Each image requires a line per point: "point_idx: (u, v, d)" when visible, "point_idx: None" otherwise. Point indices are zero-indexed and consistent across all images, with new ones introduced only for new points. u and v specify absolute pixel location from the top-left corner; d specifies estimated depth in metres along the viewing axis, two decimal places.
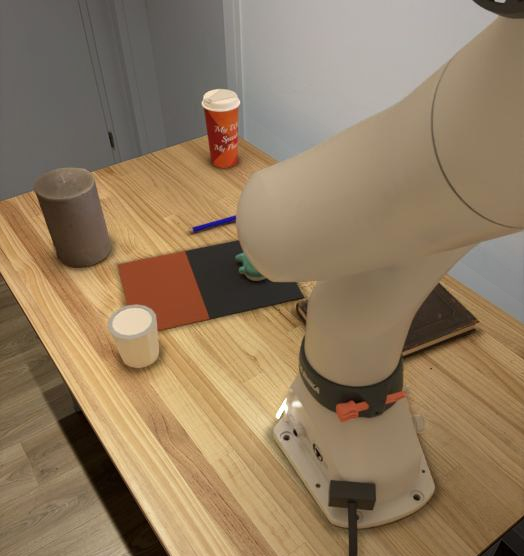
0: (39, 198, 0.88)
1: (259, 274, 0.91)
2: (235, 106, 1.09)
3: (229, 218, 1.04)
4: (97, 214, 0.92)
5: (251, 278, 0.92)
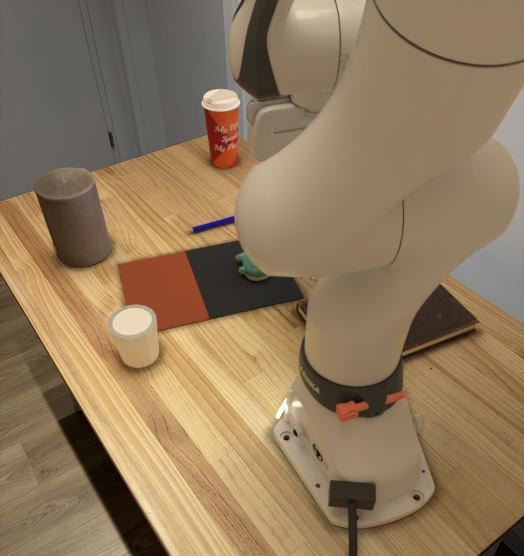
0: (39, 198, 0.88)
1: (259, 274, 0.91)
2: (235, 106, 1.09)
3: (229, 218, 1.04)
4: (97, 214, 0.92)
5: (251, 278, 0.92)
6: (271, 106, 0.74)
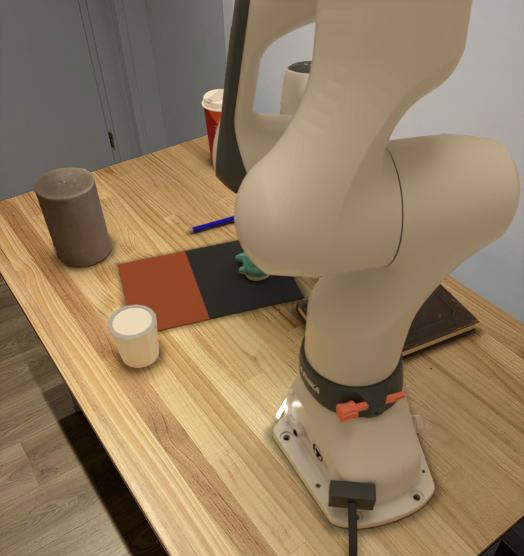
0: (39, 198, 0.88)
1: (259, 274, 0.91)
2: None
3: (229, 218, 1.04)
4: (97, 214, 0.92)
5: (251, 278, 0.92)
6: None
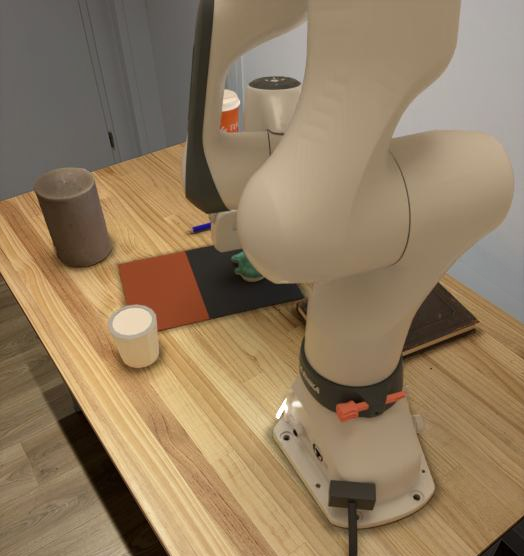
0: (39, 198, 0.88)
1: (255, 275, 0.91)
2: (235, 106, 1.09)
3: None
4: (97, 214, 0.92)
5: (247, 279, 0.92)
6: None
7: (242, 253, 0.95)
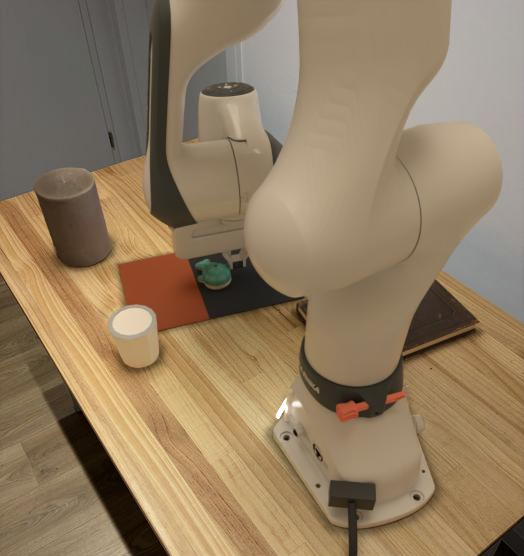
0: (39, 198, 0.88)
1: (217, 283, 0.90)
2: None
3: None
4: (97, 214, 0.92)
5: (210, 287, 0.91)
6: None
7: (206, 260, 0.94)
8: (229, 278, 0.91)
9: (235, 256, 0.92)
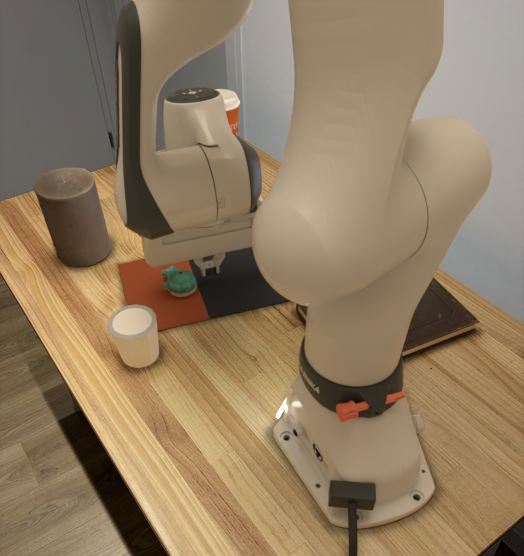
0: (39, 198, 0.88)
1: (182, 290, 0.89)
2: (235, 106, 1.09)
3: None
4: (97, 214, 0.92)
5: (175, 294, 0.90)
6: None
7: (172, 267, 0.93)
8: (194, 285, 0.90)
9: (208, 262, 0.91)
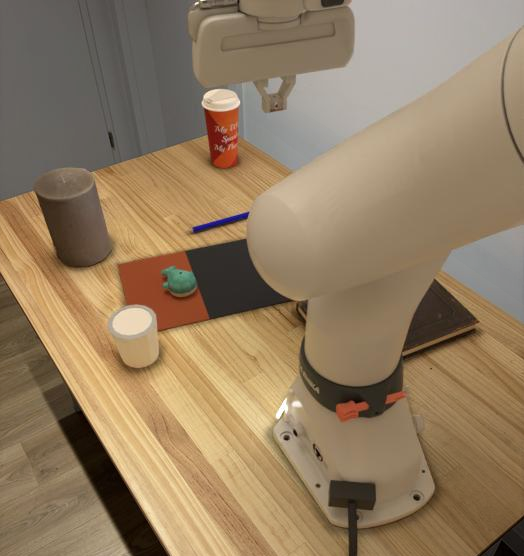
0: (39, 198, 0.88)
1: (182, 290, 0.89)
2: (235, 106, 1.09)
3: (229, 218, 1.04)
4: (97, 214, 0.92)
5: (175, 294, 0.90)
6: (216, 16, 0.62)
7: (172, 267, 0.93)
8: (194, 285, 0.90)
9: (273, 95, 0.72)
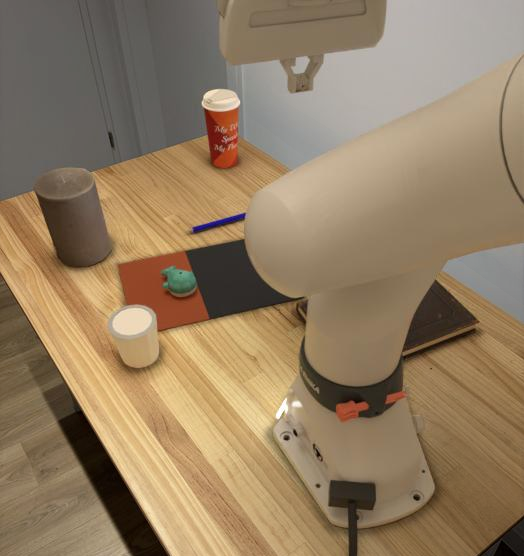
0: (39, 198, 0.88)
1: (182, 290, 0.89)
2: (235, 106, 1.09)
3: (229, 218, 1.04)
4: (97, 214, 0.92)
5: (175, 294, 0.90)
6: None
7: (172, 267, 0.93)
8: (194, 285, 0.90)
9: (299, 75, 0.70)
